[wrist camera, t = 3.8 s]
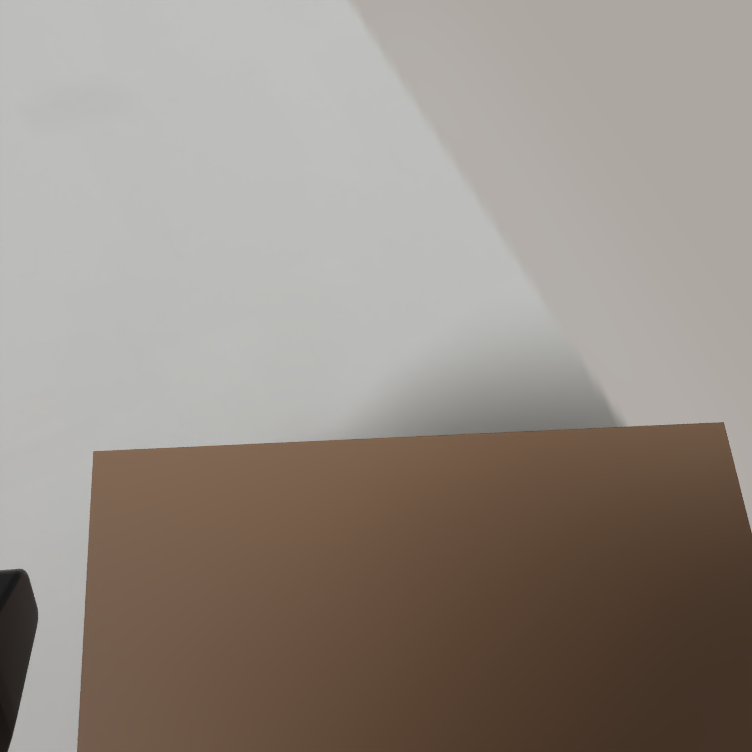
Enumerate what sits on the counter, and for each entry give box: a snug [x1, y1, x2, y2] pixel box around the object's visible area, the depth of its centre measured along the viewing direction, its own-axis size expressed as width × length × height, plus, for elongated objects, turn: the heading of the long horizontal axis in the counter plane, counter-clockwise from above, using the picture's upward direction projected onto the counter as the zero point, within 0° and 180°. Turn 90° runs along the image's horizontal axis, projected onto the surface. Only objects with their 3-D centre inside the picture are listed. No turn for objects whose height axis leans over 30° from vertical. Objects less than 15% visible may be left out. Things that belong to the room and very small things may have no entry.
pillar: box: [77, 422, 752, 752], centre depth 9 cm, size 4×4×12 cm
